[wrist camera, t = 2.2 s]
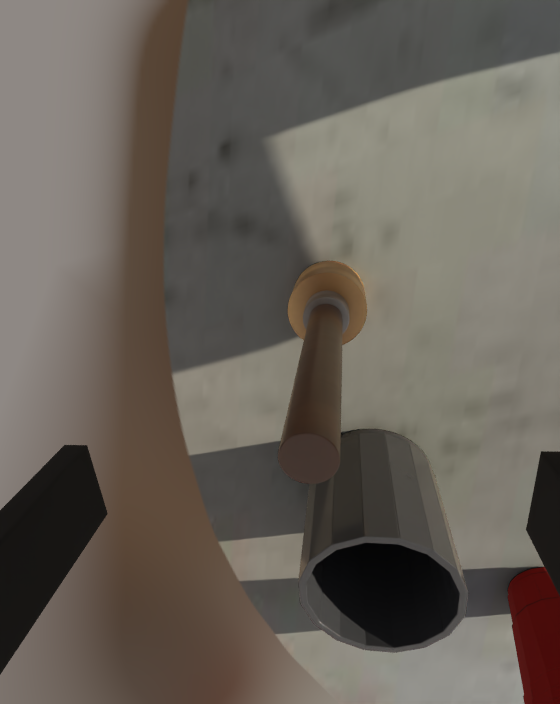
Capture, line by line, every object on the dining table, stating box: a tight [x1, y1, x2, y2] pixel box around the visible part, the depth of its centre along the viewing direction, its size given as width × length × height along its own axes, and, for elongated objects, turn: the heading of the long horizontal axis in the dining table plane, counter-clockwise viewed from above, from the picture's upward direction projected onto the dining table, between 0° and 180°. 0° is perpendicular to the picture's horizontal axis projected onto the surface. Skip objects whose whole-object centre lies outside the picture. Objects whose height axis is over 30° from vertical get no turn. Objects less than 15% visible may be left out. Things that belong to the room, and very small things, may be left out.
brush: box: [278, 261, 367, 484], centre depth 22 cm, size 5×5×18 cm
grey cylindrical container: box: [298, 429, 468, 653], centre depth 31 cm, size 10×10×11 cm
